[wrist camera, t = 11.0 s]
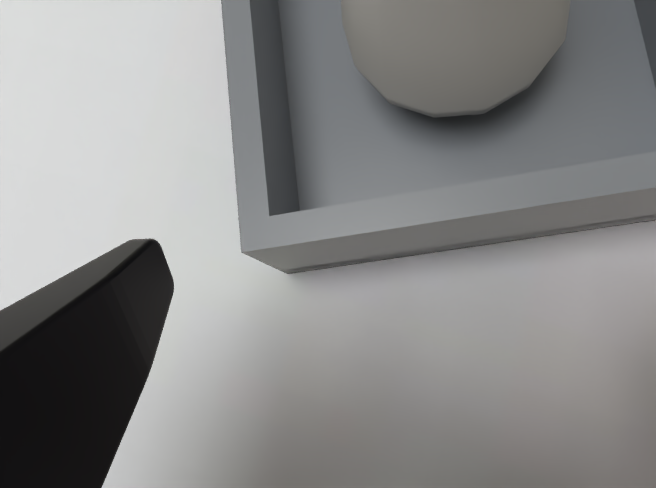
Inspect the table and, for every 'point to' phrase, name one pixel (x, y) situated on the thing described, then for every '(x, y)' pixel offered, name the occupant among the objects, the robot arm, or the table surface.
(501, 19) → the salt shaker
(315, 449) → the table surface
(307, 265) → the box
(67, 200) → the table surface
